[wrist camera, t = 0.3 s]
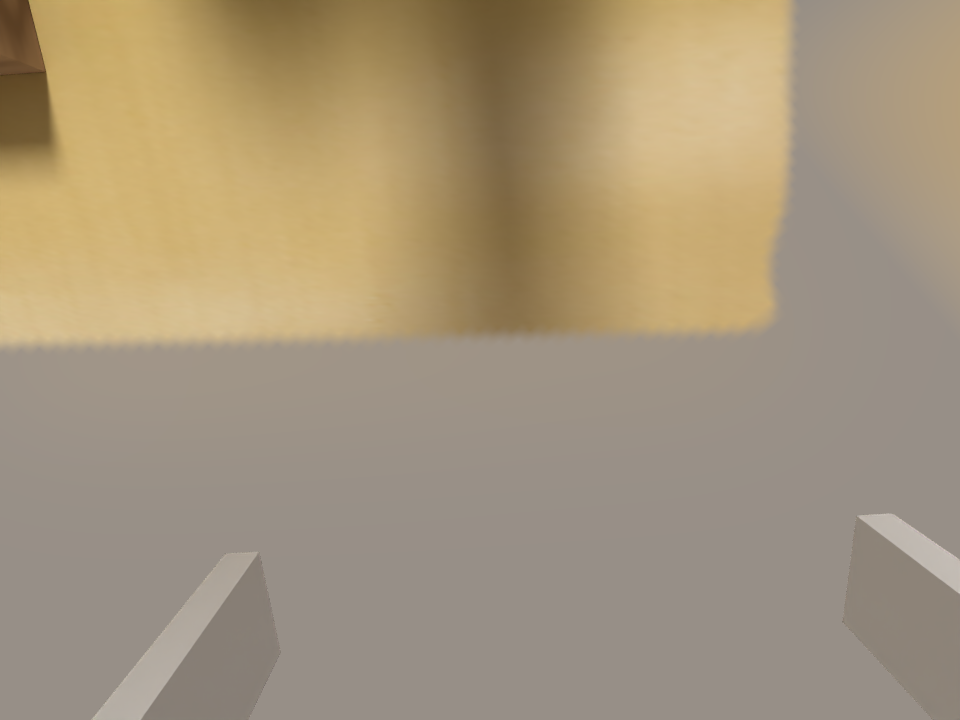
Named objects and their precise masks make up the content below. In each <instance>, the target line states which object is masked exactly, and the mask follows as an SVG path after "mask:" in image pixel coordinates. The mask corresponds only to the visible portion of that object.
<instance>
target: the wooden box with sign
mask: <svg viewBox="0 0 960 720" xmlns="http://www.w3.org/2000/svg"><path fill="white" fill-rule="evenodd" d="M34 72H46V71H45V67H44V63H43V59H42V55H41V51H40V47H39V43H38V39H37V35H36V31H35V27H34V23H33V19H32V15H31V11H30V7H29V3H28V0H0V75H8V74H21V73H34Z"/></svg>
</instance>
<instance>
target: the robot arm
mask: <svg viewBox="0 0 960 720" xmlns="http://www.w3.org/2000/svg"><path fill="white" fill-rule="evenodd" d="M843 623H844V624H845V625H846V626H847V627H848V628H849V630H850V631H851V632H852V633H853V634H854V635H855V636H856V637H857V638H858V639H859V640H860V641H861V642H862V643H863V645H864V646H865V647H866V648H867V649H868V650H869V651H870V652H871V653H872V654H873V655H874V657H876V659H877V660H878V661H879V662H880V663H881V664H882V665H883V666H884V667H885V668H886V669H887V671H888V672H889V673H890V674H891V675H892V676H893V677H894V678H895V679H896V680H897V682H898V683H899V684H900V685H901V686H902V687H903V688H904V689H905V690H906V691H907V692H908V693H909V695H910V696H911V697H912V698H913V699H914V700H915V701H916V702H917V703H918V704H919V705H920V706H921V708H923V710H924V711H925V712H926V713H927V714H928V715H929V716H930V717H931V718H932V719H933V720H960V560H959V559H958V558H956V557H955V556H953V555H952V554H951V553H949V552H947V551H946V550H944V549H943V548H942V547H940V546H939V545H937V544H936V543H934V542H933V541H932V540H930V539H929V538H927V537H926V536H924V535H923V534H921V533H920V532H918V531H917V530H916V529H914V528H913V527H911V526H910V525H908V524H907V523H905V522H904V521H902V520H901V519H900V518H898V517H897V516H895V515H894V514H878V515H862V516H856V523H855V531H854V538H853V546H852V554H851V561H850V568H849V576H848V584H847V591H846V599H845V607H844V615H843ZM279 655H280V647H279V642H278V638H277V633H276V628H275V624H274V619H273V614H272V610H271V605H270V600H269V595H268V591H267V586H266V582H265V577H264V572H263V567H262V562H261V558H260V553H259V552H246V553H229V554H225V555H224V556H223V557H222V559H221V560H220V561H219V562H218V564H217V565H216V566H215V568H214V569H213V570H212V571H211V572H210V574H209V575H208V576H207V577H206V579H205V580H204V581H203V582H202V583H201V585H200V586H199V587H198V589H197V590H196V591H195V592H194V593H193V595H192V596H191V597H190V599H189V600H188V601H187V602H186V603H185V605H184V606H183V607H182V608H181V610H180V611H179V612H178V613H177V614H176V616H175V617H174V618H173V619H172V621H171V622H170V623H169V624H168V626H167V627H166V628H165V629H164V631H163V632H162V633H161V634H160V636H159V637H158V638H157V639H156V641H155V642H154V643H153V644H152V645H151V647H150V648H149V649H148V651H147V652H146V653H145V654H144V656H143V657H142V658H141V659H140V660H139V662H138V663H137V664H136V665H135V667H134V668H133V669H132V670H131V672H130V673H129V674H128V675H127V677H126V678H125V679H124V680H123V681H122V683H121V684H120V685H119V686H118V688H117V689H116V690H115V691H114V693H113V694H112V695H111V696H110V698H109V699H108V700H107V701H106V703H105V704H104V705H103V706H102V708H101V709H100V710H99V711H98V712H97V714H96V715H95V716H94V717H93V719H92V720H248V719H249V717H250V715H251V713H252V711H253V709H254V707H255V705H256V703H257V700H258V698H259V696H260V694H261V692H262V690H263V688H264V686H265V684H266V682H267V680H268V678H269V676H270V674H271V672H272V669H273V667H274V665H275V663H276V661H277V659H278V657H279Z"/></svg>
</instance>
